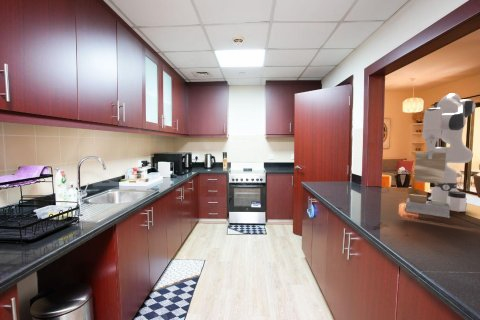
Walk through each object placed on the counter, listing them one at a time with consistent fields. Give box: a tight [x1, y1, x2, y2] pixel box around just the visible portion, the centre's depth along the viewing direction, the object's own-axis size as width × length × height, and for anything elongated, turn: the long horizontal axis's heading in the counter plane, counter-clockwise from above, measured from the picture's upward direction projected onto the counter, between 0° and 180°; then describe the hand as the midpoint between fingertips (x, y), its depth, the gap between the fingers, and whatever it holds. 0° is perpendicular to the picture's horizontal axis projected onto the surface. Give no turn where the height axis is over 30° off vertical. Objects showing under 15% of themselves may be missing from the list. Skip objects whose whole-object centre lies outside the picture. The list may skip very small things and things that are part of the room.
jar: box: [447, 191, 468, 212], centre depth 147 cm, size 9×8×12 cm
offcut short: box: [431, 200, 445, 206], centre depth 140 cm, size 2×6×7 cm, turn 52°
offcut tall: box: [409, 193, 428, 203], centre depth 145 cm, size 2×8×9 cm, turn 52°
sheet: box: [413, 151, 446, 184], centre depth 144 cm, size 2×14×18 cm, turn 52°
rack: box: [405, 198, 451, 219], centre depth 144 cm, size 16×20×6 cm
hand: (430, 158), depth 144 cm, fingers closed on sheet, 2 cm apart
